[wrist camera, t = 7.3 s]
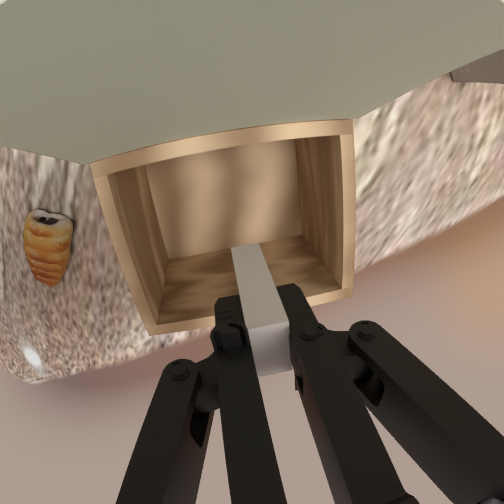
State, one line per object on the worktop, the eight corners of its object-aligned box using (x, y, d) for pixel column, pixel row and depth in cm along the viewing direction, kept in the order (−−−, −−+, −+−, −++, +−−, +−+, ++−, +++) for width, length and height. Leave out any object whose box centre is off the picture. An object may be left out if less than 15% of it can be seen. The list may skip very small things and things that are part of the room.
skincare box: (475, 76, 26) (561, 88, 12) (448, 83, 27) (543, 93, 13) (457, 24, 23) (542, 18, 9) (427, 25, 23) (521, 13, 9)
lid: (-116, 127, 1) (-104, 74, 1) (83, 164, 15) (81, 140, 15) (543, 34, 3) (521, -8, 2) (358, 118, 17) (353, 96, 16)
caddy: (163, 264, 33) (149, 335, 22) (133, 144, 26) (89, 163, 16) (308, 238, 34) (352, 296, 23) (298, 115, 28) (352, 119, 17)
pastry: (73, 284, 32) (63, 302, 28) (30, 271, 30) (18, 287, 26) (77, 215, 28) (64, 229, 25) (30, 204, 26) (14, 215, 23)
